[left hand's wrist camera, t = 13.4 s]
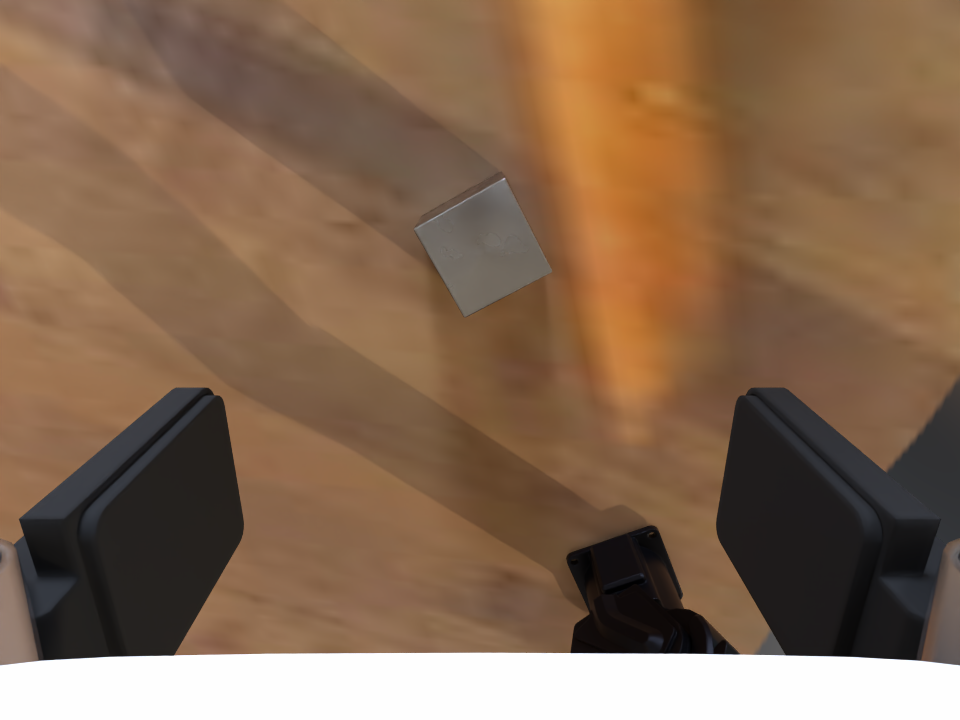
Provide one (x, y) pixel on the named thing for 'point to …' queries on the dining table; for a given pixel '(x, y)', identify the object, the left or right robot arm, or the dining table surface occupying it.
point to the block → (482, 245)
